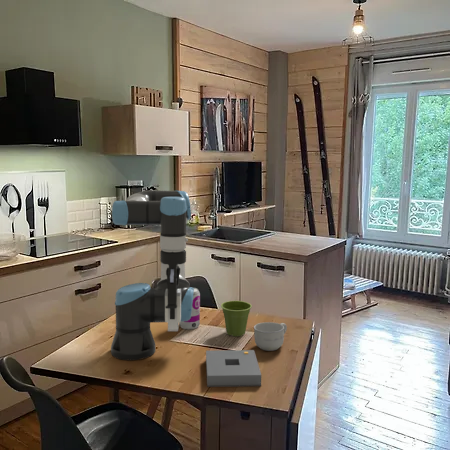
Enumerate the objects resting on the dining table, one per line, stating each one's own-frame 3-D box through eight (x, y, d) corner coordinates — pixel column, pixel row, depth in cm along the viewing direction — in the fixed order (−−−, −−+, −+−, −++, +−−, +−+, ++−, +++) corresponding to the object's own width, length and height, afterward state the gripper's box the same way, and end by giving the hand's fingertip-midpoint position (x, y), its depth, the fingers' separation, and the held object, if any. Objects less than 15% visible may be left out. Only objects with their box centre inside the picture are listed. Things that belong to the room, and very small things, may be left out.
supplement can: (203, 325, 187) (203, 289, 185) (191, 331, 180) (191, 294, 178) (187, 321, 191) (187, 286, 189) (174, 327, 184) (175, 290, 182)
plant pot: (214, 331, 180) (214, 304, 178) (238, 325, 187) (238, 298, 185) (232, 341, 171) (233, 312, 169) (257, 334, 178) (258, 306, 176)
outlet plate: (207, 386, 137) (207, 374, 136) (206, 360, 154) (206, 349, 154) (261, 386, 138) (261, 374, 137) (253, 360, 155) (253, 349, 155)
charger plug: (165, 332, 137) (164, 292, 136) (166, 326, 142) (166, 288, 140) (180, 332, 137) (180, 292, 136) (181, 326, 142) (181, 288, 140)
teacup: (263, 356, 159) (264, 333, 158) (247, 344, 168) (248, 323, 167) (296, 349, 165) (297, 327, 164) (279, 338, 175) (280, 318, 174)
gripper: (184, 255, 128) (184, 336, 131) (187, 244, 145) (186, 315, 148) (157, 255, 127) (157, 336, 131) (163, 244, 145) (163, 315, 148)
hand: (173, 325), depth 139 cm, fingers closed on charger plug, 4 cm apart
